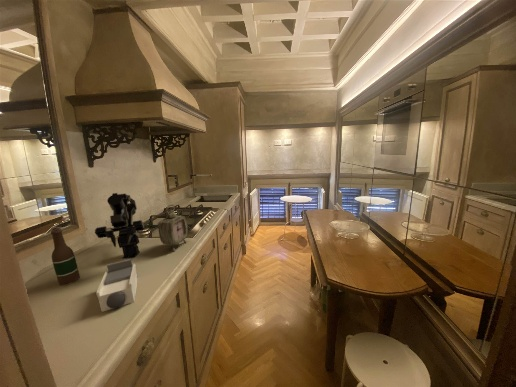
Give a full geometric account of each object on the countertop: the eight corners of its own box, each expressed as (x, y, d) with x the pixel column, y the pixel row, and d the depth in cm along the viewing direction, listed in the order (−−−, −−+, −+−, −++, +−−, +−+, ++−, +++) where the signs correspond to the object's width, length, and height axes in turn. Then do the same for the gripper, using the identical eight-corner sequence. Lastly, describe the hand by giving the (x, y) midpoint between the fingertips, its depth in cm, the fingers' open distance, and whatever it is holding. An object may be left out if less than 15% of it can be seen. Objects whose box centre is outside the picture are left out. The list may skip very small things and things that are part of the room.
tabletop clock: (174, 253, 115) (167, 208, 110) (160, 252, 117) (153, 208, 112) (189, 241, 129) (184, 201, 123) (177, 240, 131) (171, 201, 126)
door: (109, 272, 87) (107, 264, 87) (132, 267, 91) (131, 258, 90) (105, 284, 79) (102, 275, 79) (130, 277, 83) (128, 268, 82)
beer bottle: (62, 278, 97) (48, 229, 92) (83, 273, 100) (71, 225, 95) (54, 288, 90) (39, 235, 85) (77, 282, 93) (63, 231, 88)
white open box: (109, 287, 88) (106, 270, 87) (138, 279, 93) (135, 263, 91) (100, 314, 73) (95, 295, 71) (134, 303, 77) (130, 285, 76)
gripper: (91, 210, 93) (89, 243, 86) (139, 203, 101) (141, 233, 93) (99, 222, 102) (98, 253, 94) (142, 215, 110) (145, 243, 102)
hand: (121, 245), depth 96 cm, fingers open, 5 cm apart
